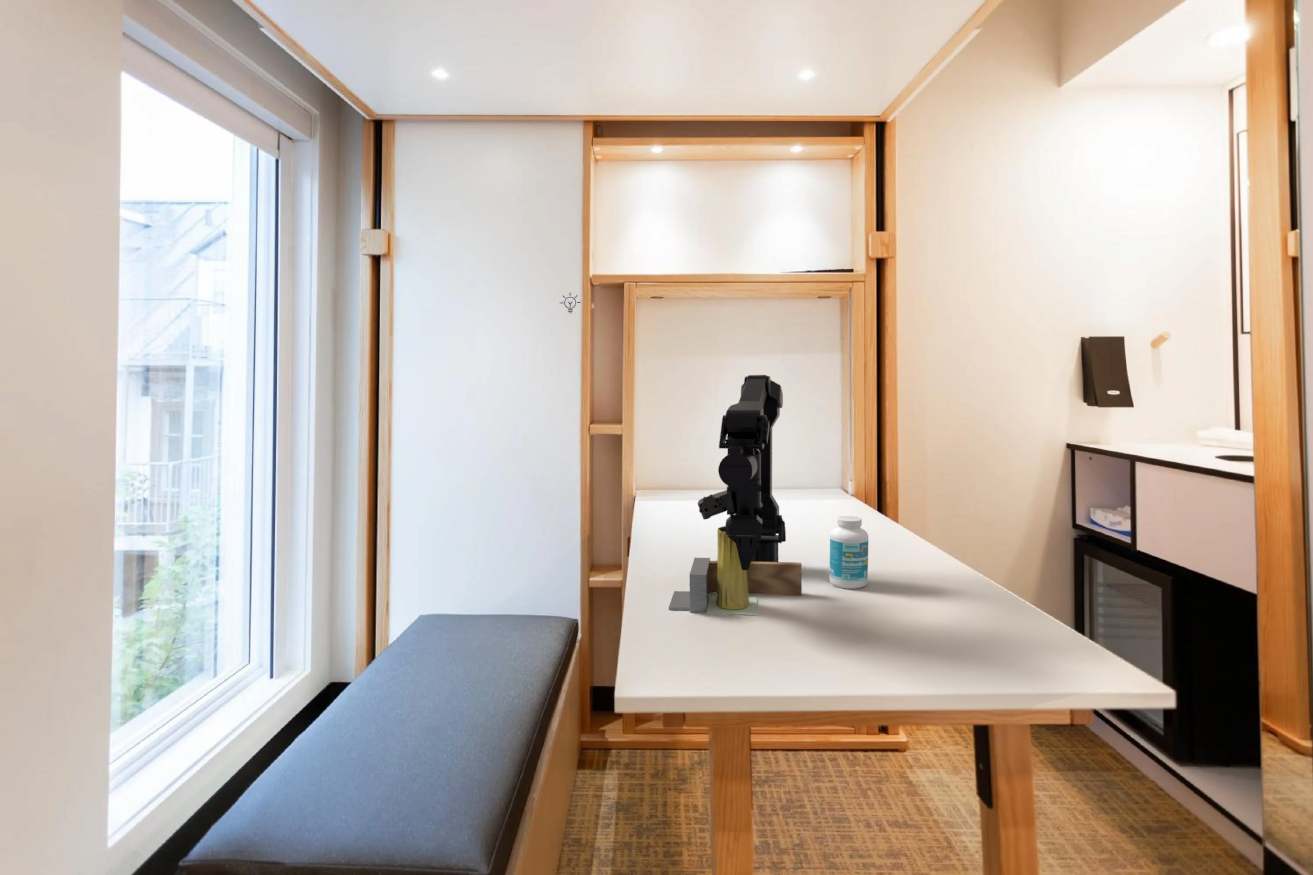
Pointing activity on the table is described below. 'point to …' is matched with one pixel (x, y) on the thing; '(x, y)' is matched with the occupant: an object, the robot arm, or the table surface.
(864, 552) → the pill bottle
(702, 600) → the bookend
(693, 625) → the table surface
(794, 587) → the back rail
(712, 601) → the mat
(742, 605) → the vase
